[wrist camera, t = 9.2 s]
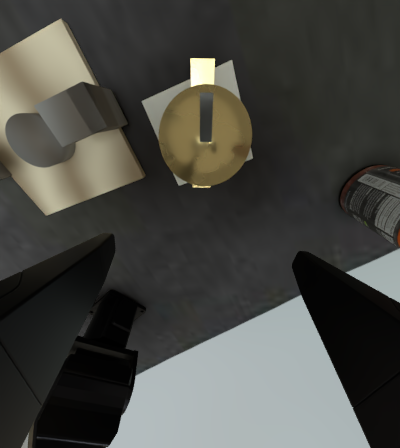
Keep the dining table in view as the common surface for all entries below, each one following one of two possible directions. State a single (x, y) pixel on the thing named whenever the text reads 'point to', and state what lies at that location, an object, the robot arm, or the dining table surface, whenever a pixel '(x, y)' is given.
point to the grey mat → (160, 101)
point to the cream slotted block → (60, 123)
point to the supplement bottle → (375, 200)
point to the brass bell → (205, 130)
